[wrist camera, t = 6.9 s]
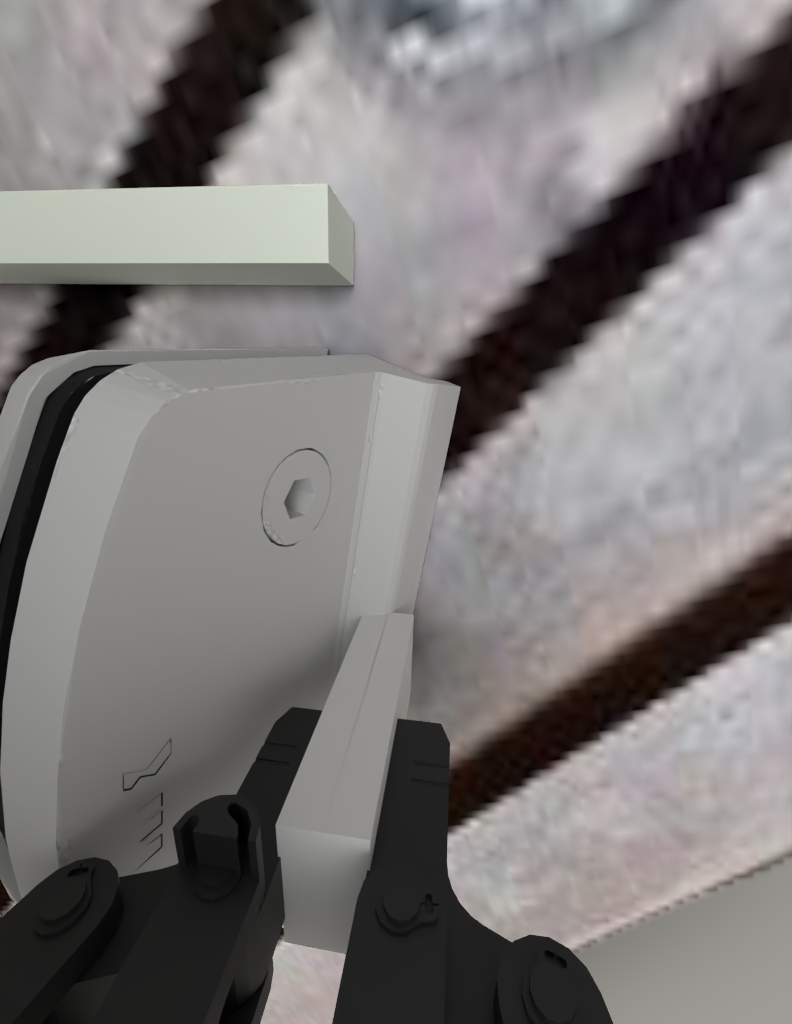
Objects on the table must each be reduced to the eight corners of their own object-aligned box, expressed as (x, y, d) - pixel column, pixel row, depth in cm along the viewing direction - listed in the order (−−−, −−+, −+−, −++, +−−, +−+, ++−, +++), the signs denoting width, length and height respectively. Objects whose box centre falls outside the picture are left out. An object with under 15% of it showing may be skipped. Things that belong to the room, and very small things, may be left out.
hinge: (372, 809, 17) (104, 1201, 9) (282, 747, 19) (-7, 1015, 11) (464, 371, 12) (26, 265, 3) (328, 348, 14) (-163, 246, 5)
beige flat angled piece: (-51, 797, 21) (-113, 848, 19) (-253, 230, 14) (-392, 201, 12) (351, 869, 18) (336, 938, 16) (353, 222, 11) (327, 183, 9)
